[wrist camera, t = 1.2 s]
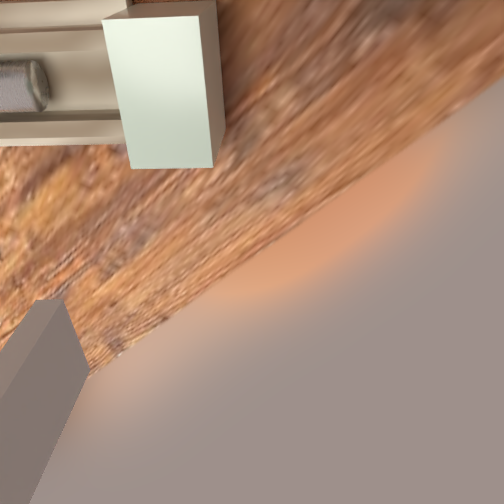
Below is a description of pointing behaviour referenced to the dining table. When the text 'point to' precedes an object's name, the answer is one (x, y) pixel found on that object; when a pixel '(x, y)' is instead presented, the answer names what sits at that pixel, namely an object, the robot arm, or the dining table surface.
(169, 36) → the socket
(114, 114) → the rail
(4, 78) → the sliding bolt
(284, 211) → the dining table surface
